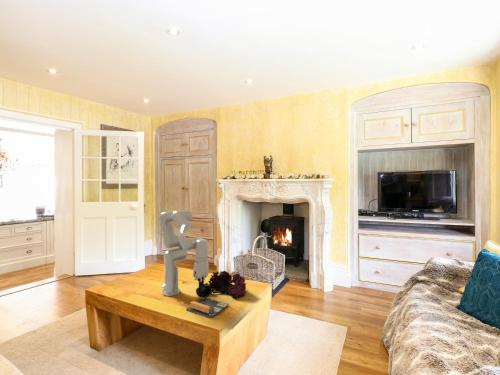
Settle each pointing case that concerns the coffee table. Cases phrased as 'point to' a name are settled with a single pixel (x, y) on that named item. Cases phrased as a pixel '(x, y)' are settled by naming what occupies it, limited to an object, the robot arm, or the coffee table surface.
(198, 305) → the bar
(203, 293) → the dark grey toy house
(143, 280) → the coffee table surface
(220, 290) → the flower arrangement
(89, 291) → the coffee table surface
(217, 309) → the tray
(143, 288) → the coffee table surface
